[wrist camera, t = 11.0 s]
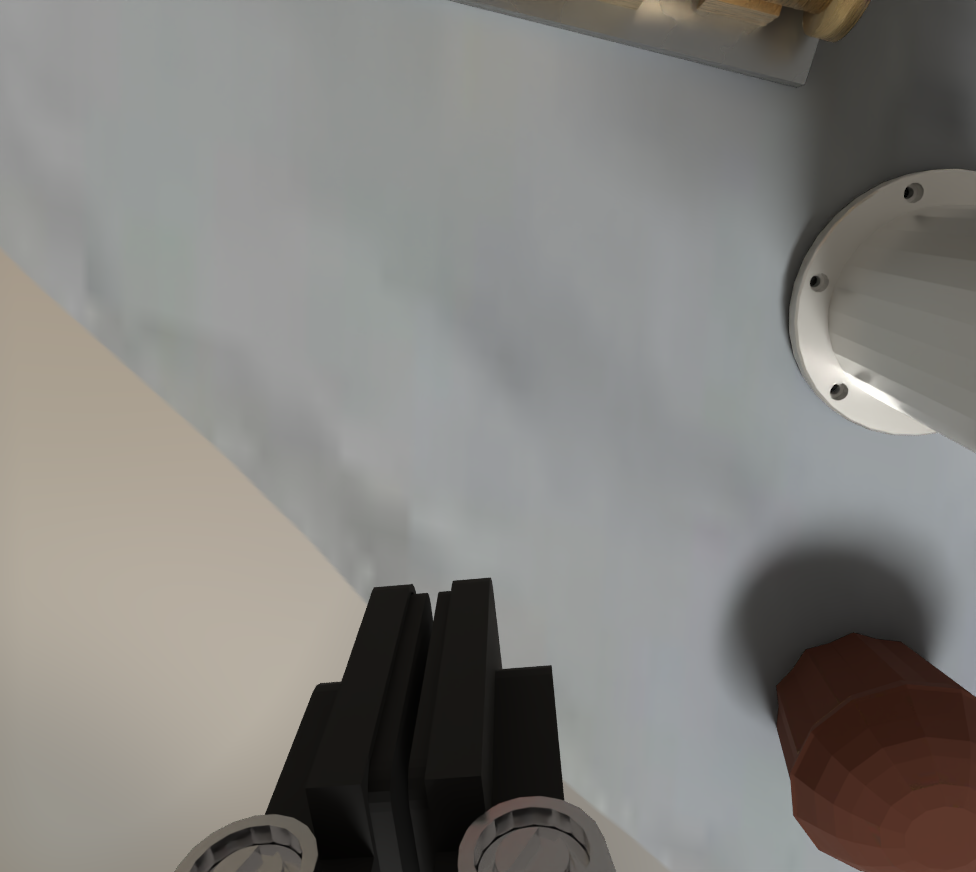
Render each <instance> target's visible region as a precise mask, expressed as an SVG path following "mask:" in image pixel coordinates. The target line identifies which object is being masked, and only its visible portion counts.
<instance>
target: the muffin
mask: <svg viewBox="0 0 976 872" xmlns="http://www.w3.org/2000/svg"><path fill="white" fill-rule="evenodd" d="M776 688H777V696H778V705H779V708H778V717H777V726H776V727H777V731H778V735H779V739H780V742H781V746H782V750H783V754H784V758H785V761H786V765H787V769H788V773H789V777H790V781H791V792H792V805H793V816H794V817H795V818H796V820H797V821H798V822H799V824H800V825H801V826H802V828H803V829H804V831H805V832H806V833H807V835H808V836H809V837H810V839H811V840H812V841H813V843H814V844H815V846H816V847H817V848H818V850H820V851H822V852H824V853H826V854H828V855H830V856H832V857H834V858H836V859H838V860H840V861H842V862H844V863H846V864H848V865H850V866H852V867H854V868H856V869H858V870H860V871H864V872H976V697H975V696H973V695H972V694H971V693H970V692H968V691H967V690H965V689H964V688H963V687H961V686H960V685H959V684H957V683H956V682H955V681H953V680H952V679H951V678H949V677H948V676H947V675H945V674H944V673H943V672H941V671H940V670H938V669H937V668H936V667H934V666H933V665H932V664H930V663H929V662H928V661H926V660H925V659H924V658H922V657H921V656H920V655H918V654H917V653H916V652H914V651H913V650H912V649H910V648H909V647H907V646H906V645H905V644H903V643H902V642H899V641H890V640H881V639H875V638H871V637H868V636H864V635H861V634H858V633H854V632H853V633H851V634H849V635H846V636H844V637H842V638H840V639H838V640H835V641H833V642H831V643H828V644H824V645H820V646H817V647H813V648H809V649H806V650H805V651H804V653H803V654H802V656H801V657H800V659H799V660H798V662H797V663H796V665H795V666H794V668H793V669H792V670H791V671H790V672H789V673H788V674H787V675H786V676H785V677H784V678H783V679H782V681H781V682H780V683H779V684H778V685H777V686H776Z"/></svg>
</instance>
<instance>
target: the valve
mask: <svg viewBox="0 0 976 872" xmlns="http://www.w3.org/2000/svg"><path fill="white" fill-rule="evenodd" d="M450 1H454V2H458V3H462V4H466V5H470V6H474V7H478V8H482V9H486V10H490V11H494V12H498V13H502V14H506V15H509V16H513V17H517V18H521V19H525V20H529V21H533V22H537V23H541V24H545V25H549V26H553V27H557V28H561V29H565V30H569V31H573V32H577V33H581V34H585V35H589V36H593V37H597V38H601V39H605V40H609V41H613V42H617V43H621V44H625V45H629V46H633V47H637V48H641V49H645V50H649V51H653V52H657V53H661V54H665V55H669V56H673V57H677V58H681V59H685V60H689V61H693V62H697V63H701V64H705V65H709V66H713V67H717V68H721V69H725V70H729V71H733V72H737V73H741V74H745V75H749V76H753V77H757V78H761V79H765V80H769V81H773V82H777V83H781V84H785V85H789V86H793V87H799V86H802V85H805V82H806V79H807V76H808V73H809V70H810V67H811V64H812V60H813V57H814V54H815V51H816V48H817V45H818V42H819V39H821V40H825V41H829V42H837V41H839V40H840V39H842V38H843V37H844V36H846V35H847V34H848V32H849V31H850V30H851V29H852V28H853V27H854V26H855V24H856V23H857V22H858V20H859V19H860V17H861V16H862V14H863V13H864V11H865V10H866V8H867V7H868V5H869V3H870V1H871V0H450Z"/></svg>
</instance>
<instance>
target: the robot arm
mask: <svg viewBox="0 0 976 872" xmlns="http://www.w3.org/2000/svg"><path fill="white" fill-rule="evenodd" d="M906 188H908V190H909V195H908V196H907V197H906V198H904V190H905V189H906ZM813 276H816V278H817V282H816V284H815V285H813V286H810V280H811V278H812V277H813ZM789 334H790V339H791V344H792V349H793V354H794V357H795V360H796V362H797V364H798V367H799V369H800V371H801V374H802V376H803V378H804V379H805V380H806V382H807V383H808V385H809V386H810V388H811V389H812V390H813V392H814V393H815V395H816V396H818V397H819V398H820V399H821V400H822V401H823V402H824V403H825V404H826V405H827V406H828V407H830V408H831V409H832V410H833V411H835V412H836V413H838V414H840V415H841V416H843V417H844V418H845V419H847V420H849V421H851V422H853V423H855V424H857V425H860V426H862V427H864V428H866V429H868V430H872V431H877V432H881V433H885V434H890V435H905V436H919V435H927V434H934V433H939V434H941V435H943V436H945V437H947V438H948V439H950V440H952V441H954V442H956V443H958V444H959V445H961V446H963V447H965V448H967V449H968V450H970V451H972V452H974V453H976V171H971V170H963V169H935V170H928V171H922V172H916V173H910V174H906V175H903V176H900V177H898V178H895V179H892V180H889V181H886V182H884V183H881V184H880V185H878V186H876V187H874V188H872V189H871V190H869V191H867V192H865V193H864V194H862V195H860V196H858V197H857V198H856V199H855V200H853V201H852V202H851V203H850V204H848V205H847V206H846V207H845V208H844V209H842V210H841V211H840V212H839V213H837V214H836V215H835V217H834V218H833V219H832V220H831V221H830V222H829V223H828V225H827V226H826V227H825V228H824V229H823V230H822V231H821V233H820V234H819V235H818V236H817V238H816V240H815V241H814V243H813V244H812V246H811V248H810V249H809V251H808V253H807V254H806V256H805V258H804V259H803V262H802V265H801V267H800V270H799V272H798V275H797V277H796V280H795V282H794V287H793V292H792V297H791V302H790V307H789ZM835 384H836V385H837V386H836V389H835V391H833V392H830V390H831V388H832V387H833V385H835ZM174 872H616V870H615V867H614V865H613V862H612V859H611V856H610V853H609V850H608V848H607V844H606V841H605V839H604V836H603V835H602V833H601V831H600V829H599V828H598V826H597V824H596V822H595V821H594V820H593V819H592V818H591V817H590V816H588V815H587V814H586V813H585V812H584V811H583V810H582V809H580V808H579V807H576V806H574V805H572V804H570V803H568V802H565V801H564V793H563V782H562V772H561V761H560V750H559V740H558V729H557V719H556V708H555V697H554V687H553V676H552V666H551V665H550V666H537V667H524V668H511V669H502V662H501V654H500V645H499V636H498V627H497V619H496V610H495V601H494V593H493V585H492V580H491V578H481V579H469V580H457V581H453V583H452V588H451V591H446V592H439V593H438V598H437V604H436V610H435V615H434V621H433V617H432V610H431V603H430V598H429V595H428V593H422V594H416V591H415V588H414V586H413V584H409V585H397V586H385V587H374V589H373V590H372V593H371V596H370V599H369V602H368V605H367V608H366V611H365V614H364V617H363V620H362V623H361V626H360V628H359V631H358V634H357V637H356V641H355V643H354V646H353V649H352V652H351V655H350V658H349V661H348V664H347V667H346V670H345V673H344V675H343V678H342V681H341V682H331V683H320V684H318V685H317V686H316V688H315V689H314V691H313V693H312V696H311V698H310V701H309V703H308V706H307V708H306V711H305V713H304V716H303V719H302V721H301V724H300V726H299V729H298V731H297V734H296V737H295V739H294V742H293V744H292V747H291V749H290V752H289V754H288V757H287V760H286V762H285V765H284V767H283V770H282V772H281V775H280V777H279V780H278V782H277V785H276V788H275V790H274V793H273V795H272V798H271V800H270V803H269V805H268V808H267V811H266V813H265V815H258V816H252V817H249V818H246V819H242V820H239V821H236V822H233V823H231V824H229V825H227V826H225V827H223V828H221V829H219V830H217V831H215V832H213V833H212V834H210V835H209V836H208V837H206V838H205V839H204V840H203V841H201V842H200V843H199V844H197V845H196V846H195V847H194V848H193V849H192V850H191V851H190V852H189V853H188V855H187V856H186V857H185V858H184V859H183V861H182V862H181V863H180V864H179V865H178V867H177V868H176V870H175V871H174Z"/></svg>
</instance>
